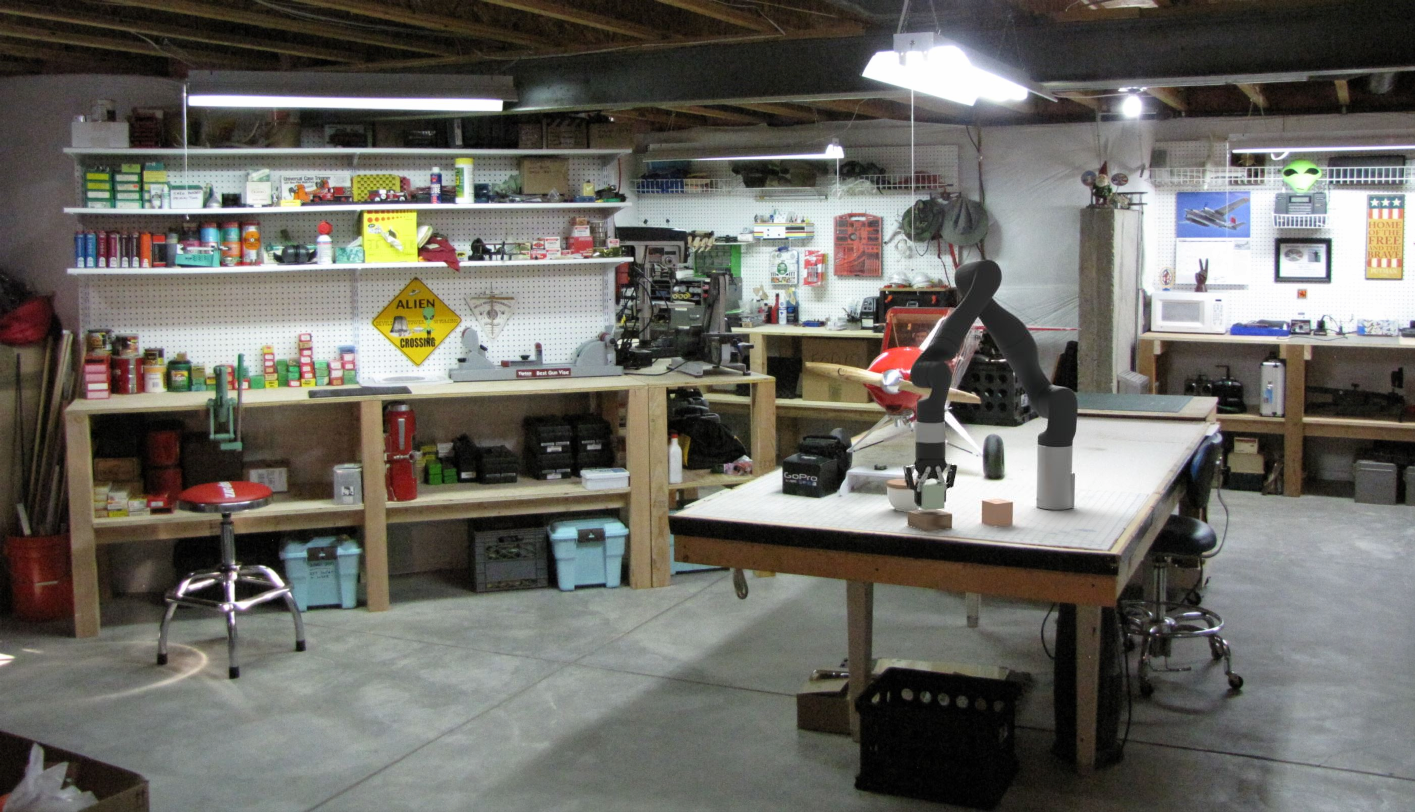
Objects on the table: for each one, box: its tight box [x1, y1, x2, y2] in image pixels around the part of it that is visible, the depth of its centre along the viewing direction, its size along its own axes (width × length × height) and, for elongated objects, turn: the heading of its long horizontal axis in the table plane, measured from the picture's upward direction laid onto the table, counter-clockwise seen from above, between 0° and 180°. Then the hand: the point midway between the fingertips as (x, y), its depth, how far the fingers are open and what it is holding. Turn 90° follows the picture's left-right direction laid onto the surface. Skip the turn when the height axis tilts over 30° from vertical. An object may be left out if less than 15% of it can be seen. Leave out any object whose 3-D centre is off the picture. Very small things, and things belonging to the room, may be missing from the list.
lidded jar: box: [886, 478, 920, 513], centre depth 334 cm, size 11×11×9 cm
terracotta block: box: [981, 498, 1014, 527], centre depth 315 cm, size 6×6×6 cm
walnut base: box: [907, 509, 953, 532], centre depth 313 cm, size 8×8×4 cm
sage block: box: [916, 481, 945, 510], centre depth 312 cm, size 6×6×6 cm
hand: (930, 504), depth 313 cm, fingers closed on sage block, 5 cm apart
